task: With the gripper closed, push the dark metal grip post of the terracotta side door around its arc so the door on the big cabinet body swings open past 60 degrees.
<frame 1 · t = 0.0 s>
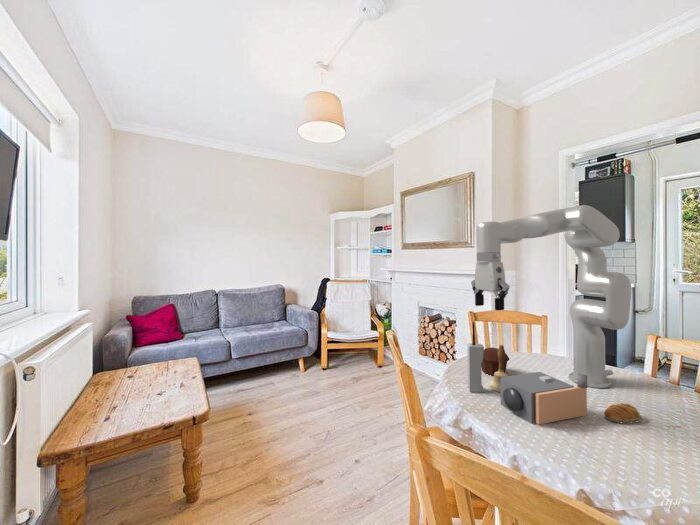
hand: (489, 307, 102), 31 cm above the table, tool pointing down, fingers open, 9 cm apart
vintage mobile phone: (476, 390, 108), on the table
pastry: (622, 419, 88), on the table
hand bell: (501, 388, 110), on the table
side door: (561, 398, 87), point 7 cm above the table, hinge at 0.0°
muffin: (493, 373, 124), on the table
cabinet body: (535, 409, 94), on the table
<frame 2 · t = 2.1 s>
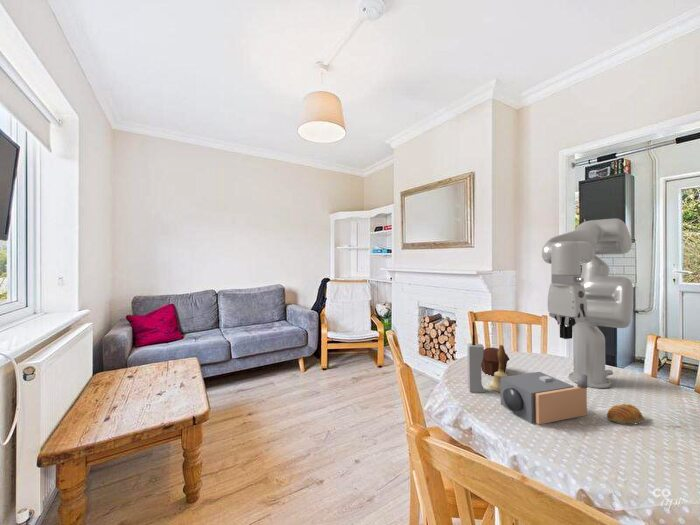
hand: (566, 338, 94), 23 cm above the table, tool pointing down, fingers closed
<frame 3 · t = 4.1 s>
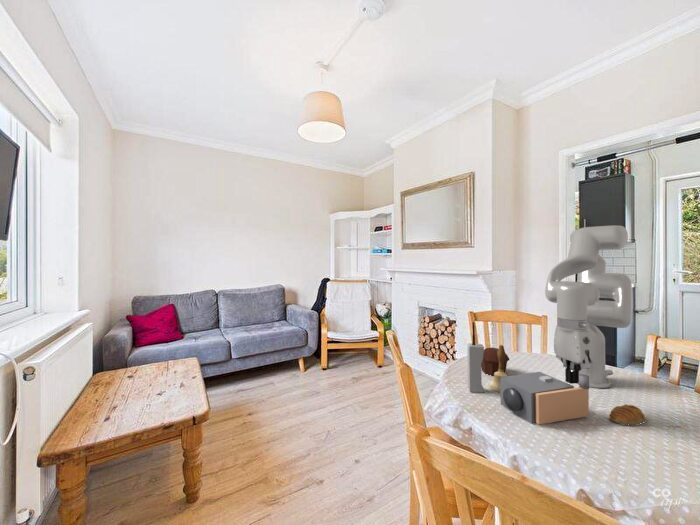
hand: (572, 382, 92), 9 cm above the table, tool pointing down, fingers closed
side door: (562, 398, 87), point 7 cm above the table, hinge at 1.8°, touching gripper
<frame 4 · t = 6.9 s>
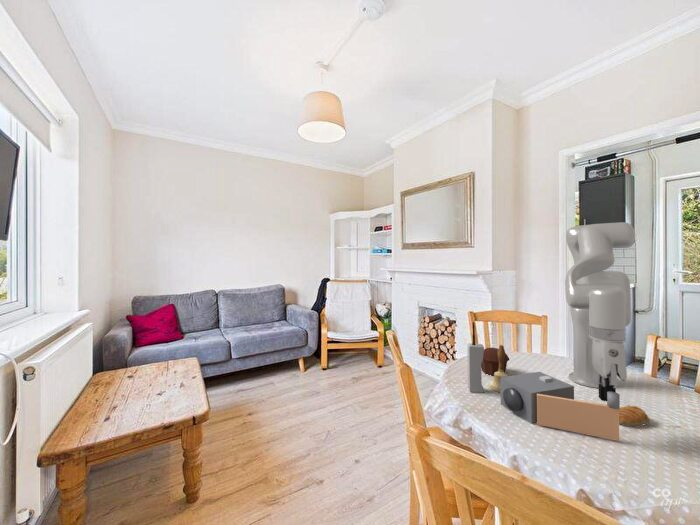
hand: (607, 400, 81), 9 cm above the table, tool pointing down, fingers closed
side door: (576, 409, 81), point 6 cm above the table, hinge at 41.4°, touching gripper
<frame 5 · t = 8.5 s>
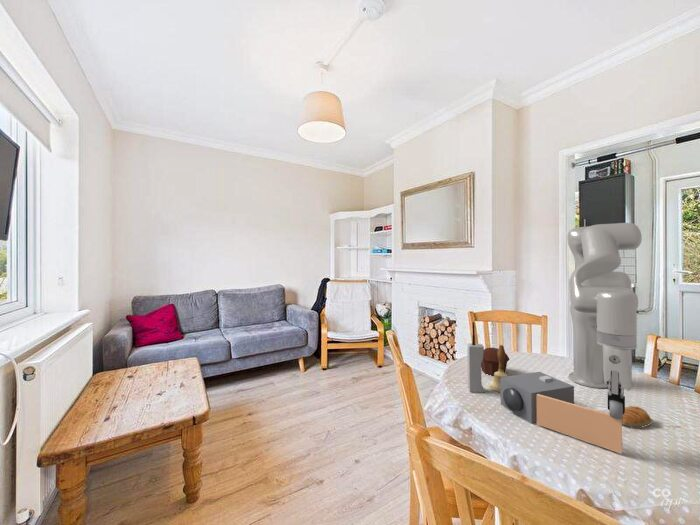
hand: (616, 410, 75), 9 cm above the table, tool pointing down, fingers closed
side door: (576, 414, 78), point 6 cm above the table, hinge at 61.7°, touching gripper
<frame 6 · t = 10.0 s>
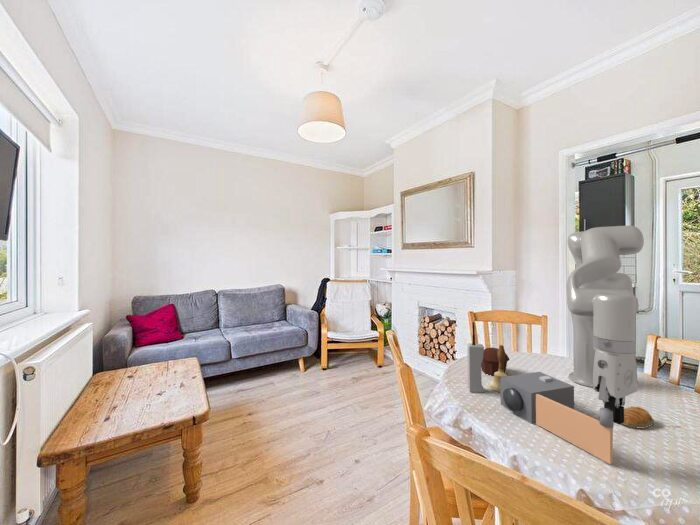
hand: (614, 420, 71), 9 cm above the table, tool pointing down, fingers closed
side door: (570, 418, 77), point 7 cm above the table, hinge at 83.0°, touching gripper
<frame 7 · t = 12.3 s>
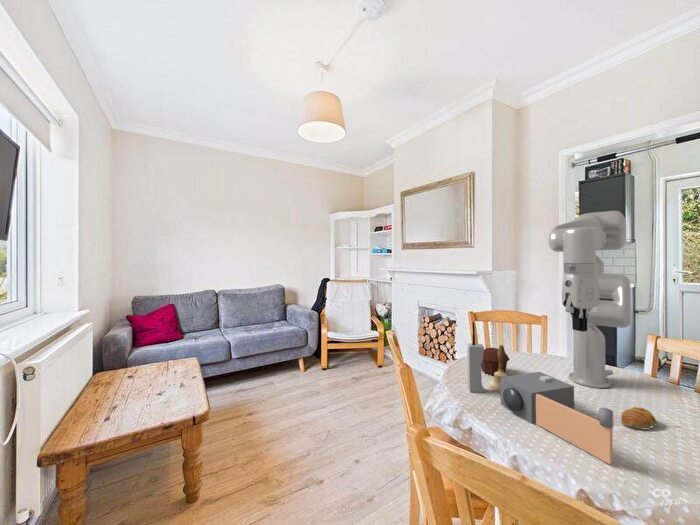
hand: (579, 330, 88), 26 cm above the table, tool pointing down, fingers closed
side door: (570, 418, 77), point 7 cm above the table, hinge at 83.2°
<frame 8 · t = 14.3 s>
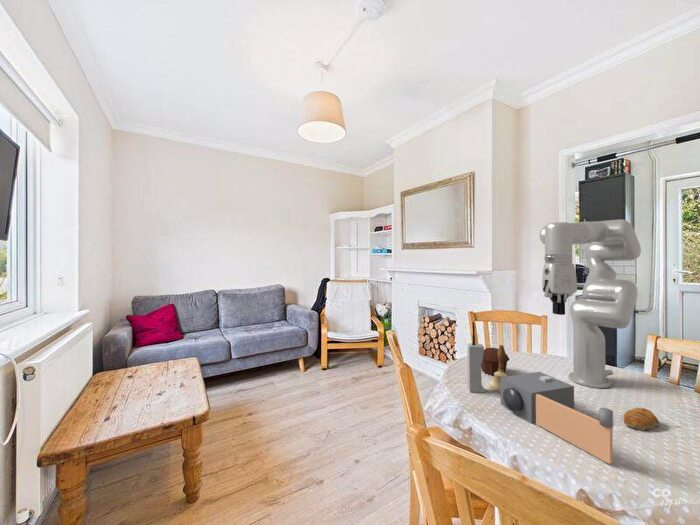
hand: (558, 313, 99), 29 cm above the table, tool pointing down, fingers closed
at the end: side door at +83° (first picture: +0°) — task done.
